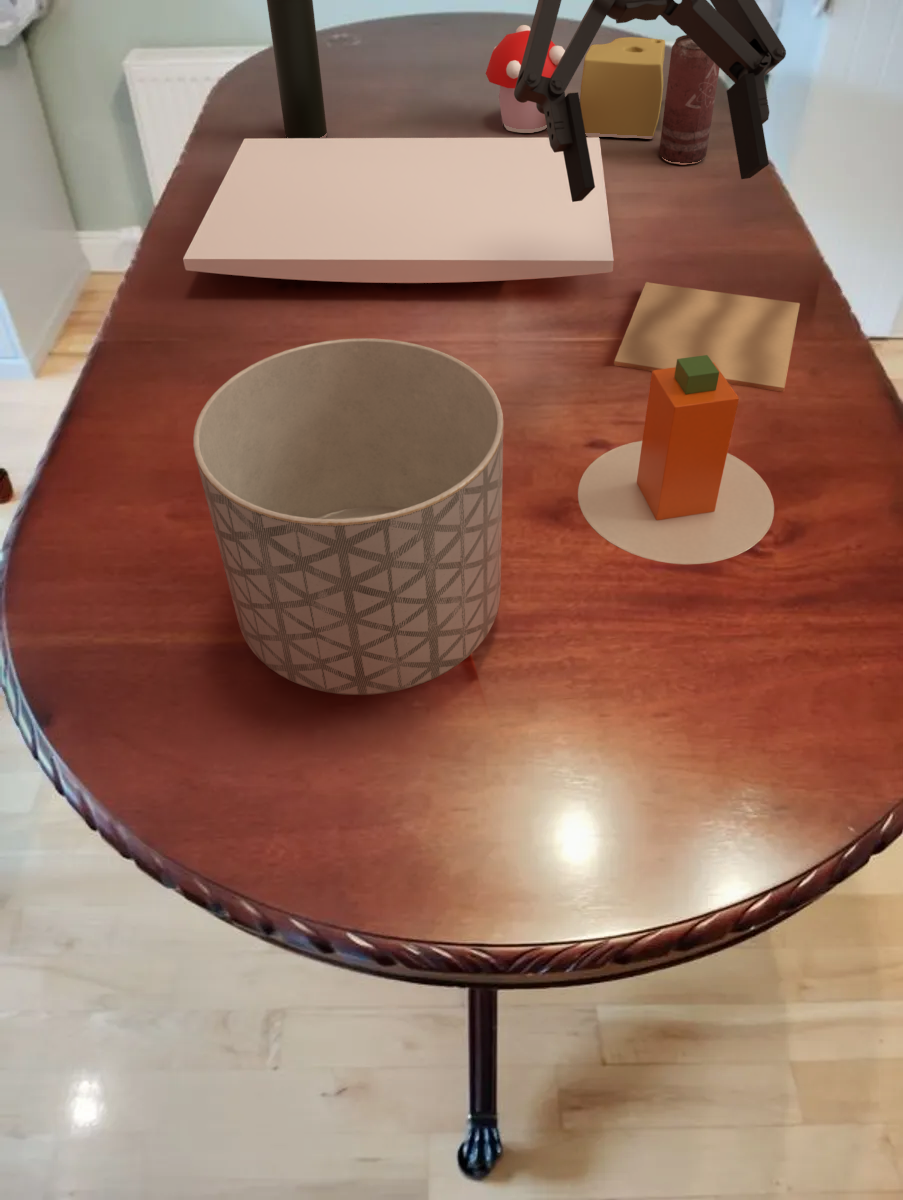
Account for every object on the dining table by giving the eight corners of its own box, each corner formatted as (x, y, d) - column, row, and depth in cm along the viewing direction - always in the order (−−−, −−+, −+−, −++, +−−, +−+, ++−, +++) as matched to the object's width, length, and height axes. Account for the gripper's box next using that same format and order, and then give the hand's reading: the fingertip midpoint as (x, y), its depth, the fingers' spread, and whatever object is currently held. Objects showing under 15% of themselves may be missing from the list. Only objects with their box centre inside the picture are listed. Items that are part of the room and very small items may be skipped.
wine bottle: (316, 126, 142) (286, -132, 120) (334, 139, 138) (306, -124, 117) (279, 135, 140) (242, -126, 118) (296, 149, 136) (261, -117, 115)
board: (596, 175, 128) (599, 137, 125) (609, 302, 106) (613, 260, 102) (250, 175, 131) (244, 138, 127) (192, 299, 108) (182, 258, 105)
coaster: (797, 311, 104) (800, 303, 103) (782, 396, 93) (784, 387, 92) (644, 290, 107) (645, 281, 107) (613, 369, 97) (614, 361, 96)
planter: (522, 554, 79) (530, 354, 66) (466, 746, 66) (462, 545, 53) (297, 520, 83) (262, 323, 70) (202, 695, 70) (137, 495, 57)
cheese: (585, 110, 143) (590, 33, 136) (661, 114, 142) (670, 36, 135) (576, 139, 136) (581, 59, 129) (656, 143, 135) (665, 63, 127)
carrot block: (692, 474, 85) (717, 343, 75) (714, 511, 81) (743, 379, 72) (636, 482, 84) (654, 351, 75) (656, 521, 80) (677, 388, 71)
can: (706, 148, 133) (724, 32, 123) (704, 168, 129) (722, 49, 119) (660, 145, 134) (674, 30, 124) (656, 164, 130) (670, 47, 120)
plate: (782, 462, 86) (783, 457, 86) (761, 587, 76) (762, 582, 75) (600, 430, 90) (601, 425, 90) (556, 545, 80) (556, 540, 79)
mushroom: (558, 142, 136) (564, 45, 127) (479, 138, 137) (479, 42, 129) (566, 112, 143) (571, 19, 134) (490, 109, 145) (491, 17, 136)
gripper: (749, -98, 77) (795, 181, 79) (438, -75, 72) (494, 222, 73) (804, -167, 69) (853, 142, 71) (461, -148, 64) (523, 185, 66)
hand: (670, 183), depth 72 cm, fingers open, 13 cm apart
